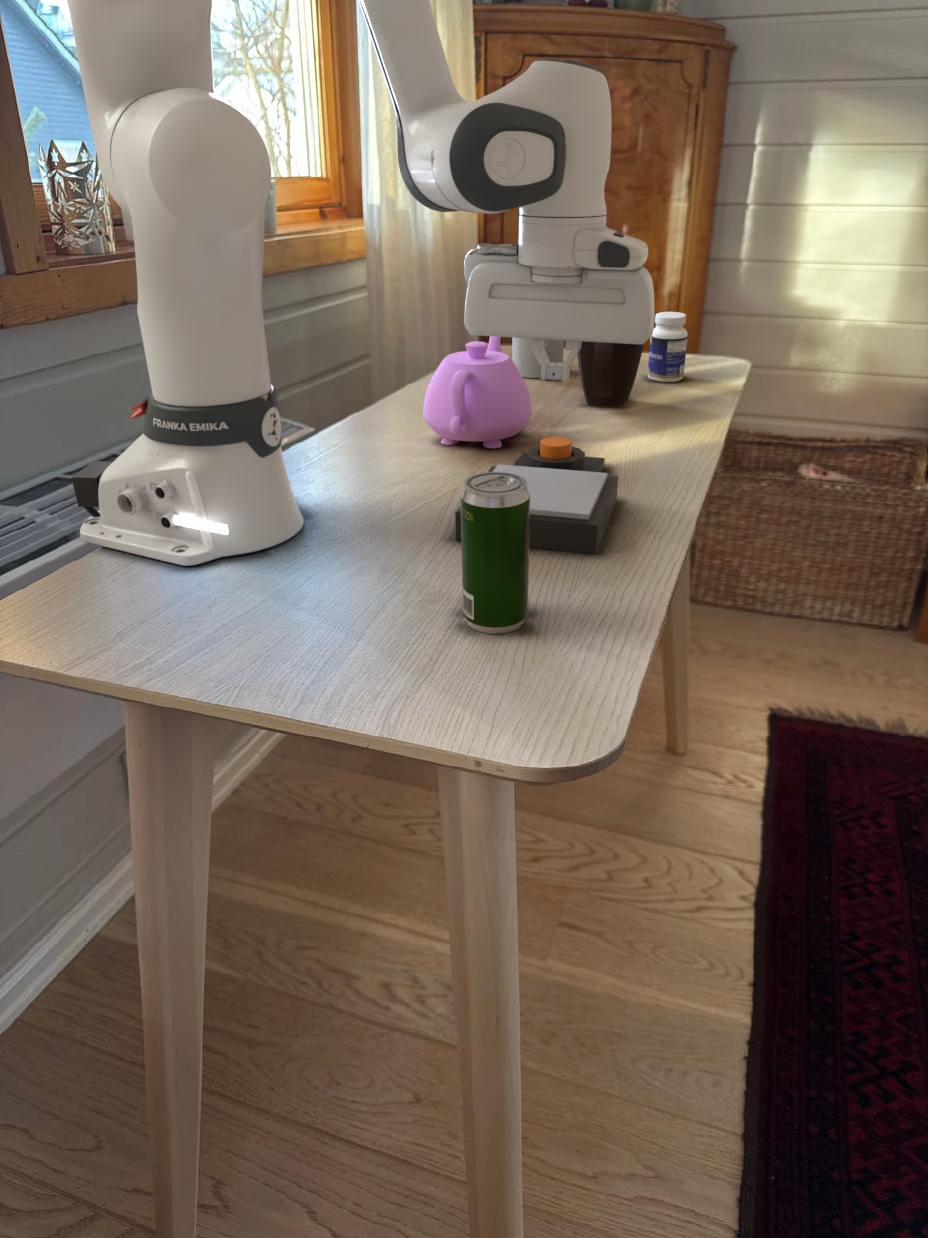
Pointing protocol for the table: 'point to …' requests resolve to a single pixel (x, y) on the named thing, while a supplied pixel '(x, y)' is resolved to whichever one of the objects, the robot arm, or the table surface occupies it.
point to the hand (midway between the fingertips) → (555, 380)
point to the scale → (564, 507)
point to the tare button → (555, 448)
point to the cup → (527, 358)
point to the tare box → (561, 461)
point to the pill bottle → (668, 347)
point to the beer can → (495, 551)
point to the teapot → (477, 396)
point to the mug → (608, 372)
